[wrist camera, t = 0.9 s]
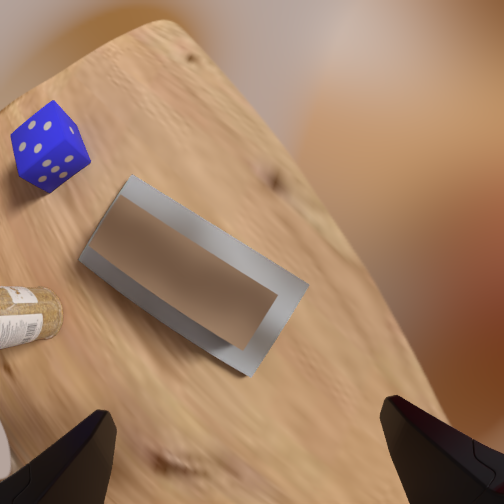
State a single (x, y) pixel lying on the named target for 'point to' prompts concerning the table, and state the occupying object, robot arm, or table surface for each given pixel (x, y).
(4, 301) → the spice jar
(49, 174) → the die
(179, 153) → the table surface
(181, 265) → the ridge
